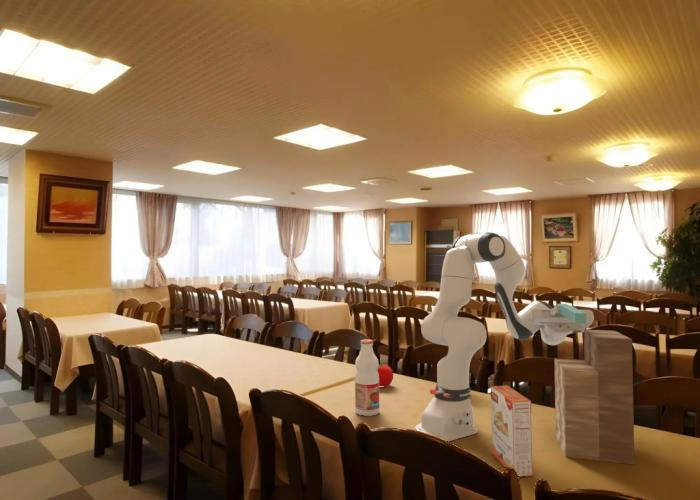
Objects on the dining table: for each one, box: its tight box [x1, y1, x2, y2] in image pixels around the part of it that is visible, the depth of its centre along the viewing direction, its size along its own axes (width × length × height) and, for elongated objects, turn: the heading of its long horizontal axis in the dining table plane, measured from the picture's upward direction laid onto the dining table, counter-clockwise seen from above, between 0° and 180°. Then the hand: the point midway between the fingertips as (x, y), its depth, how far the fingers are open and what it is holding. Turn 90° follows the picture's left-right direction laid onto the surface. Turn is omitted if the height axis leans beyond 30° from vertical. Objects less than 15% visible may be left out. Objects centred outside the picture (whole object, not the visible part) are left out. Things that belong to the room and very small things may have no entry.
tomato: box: [377, 363, 394, 387], centre depth 197 cm, size 12×12×10 cm
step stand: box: [553, 329, 635, 465], centre depth 131 cm, size 15×18×36 cm
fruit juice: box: [354, 338, 380, 417], centre depth 164 cm, size 9×9×28 cm
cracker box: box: [490, 385, 534, 478], centre depth 121 cm, size 14×6×21 cm, turn 5°
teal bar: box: [556, 303, 587, 324], centre depth 137 cm, size 26×3×3 cm, turn 164°
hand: (564, 308), depth 145 cm, fingers closed on teal bar, 3 cm apart
